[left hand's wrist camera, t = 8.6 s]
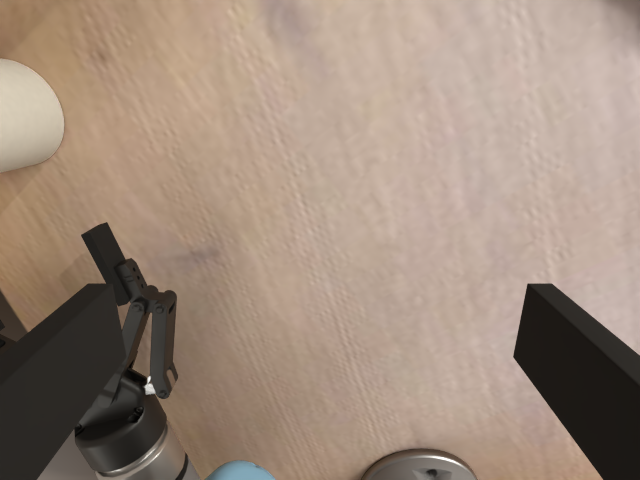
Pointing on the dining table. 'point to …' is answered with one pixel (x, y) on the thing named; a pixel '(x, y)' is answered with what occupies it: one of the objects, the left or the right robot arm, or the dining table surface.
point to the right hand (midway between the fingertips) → (19, 250)
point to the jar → (27, 117)
